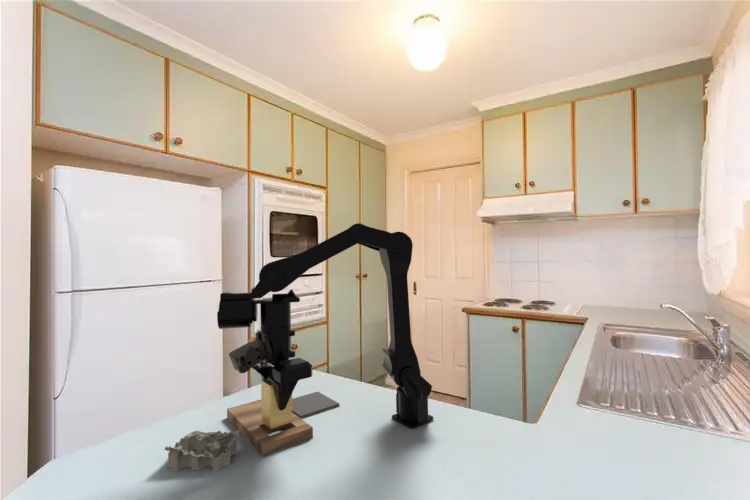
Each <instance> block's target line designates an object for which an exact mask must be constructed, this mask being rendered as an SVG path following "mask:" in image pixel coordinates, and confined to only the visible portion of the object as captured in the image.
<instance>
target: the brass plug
mask: <svg viewBox="0 0 750 500" xmlns="http://www.w3.org/2000/svg"><path fill="white" fill-rule="evenodd" d="M260 381H261V382H260V384H261V386H260V387H261V388H260V389H261V390H260V392H261V393H260V394H261V399H260V400H261V404H262V422H263V423H264V424H265V425H267V426H268V427H269V428H270V429H273V428H276V427H279V426H282V425H285V424H288V423H291V422H292V399H293V394H292V395H291V397H290V399H289V401H288V403H287V406H286V408H285V409H284V410H279V407H278V402H277V395H276V388H275V384H274V383H273V382H272V381H271V380H269V379H264V380H262V379H261V380H260Z"/></svg>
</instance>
